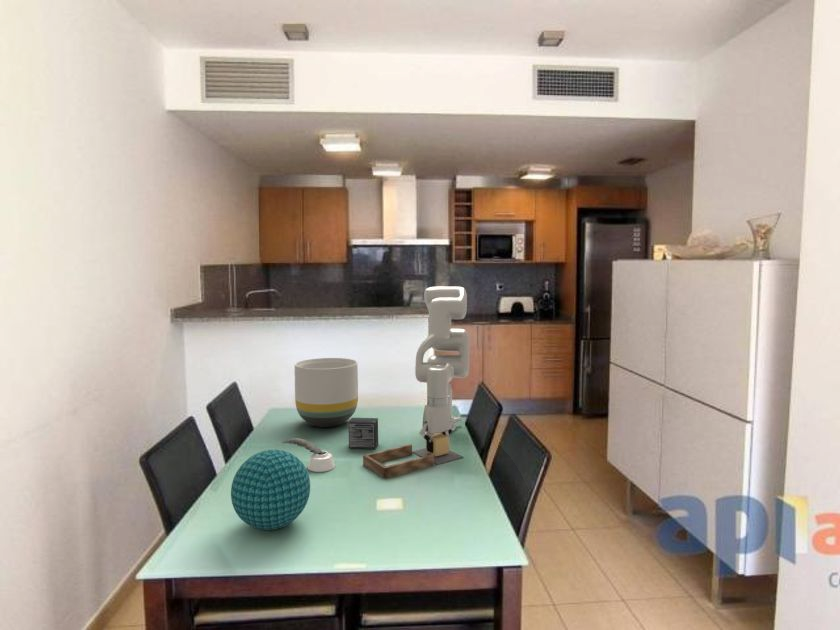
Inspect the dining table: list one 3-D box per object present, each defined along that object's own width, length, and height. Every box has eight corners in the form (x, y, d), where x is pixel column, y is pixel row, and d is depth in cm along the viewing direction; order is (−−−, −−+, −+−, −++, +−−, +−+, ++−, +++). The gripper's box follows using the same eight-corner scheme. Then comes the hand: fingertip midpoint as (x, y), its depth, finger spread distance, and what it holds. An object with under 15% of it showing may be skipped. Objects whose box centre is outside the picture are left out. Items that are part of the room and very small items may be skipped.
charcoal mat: (437, 446, 200) (437, 445, 199) (463, 457, 187) (463, 456, 187) (412, 452, 193) (412, 451, 193) (436, 464, 180) (436, 463, 180)
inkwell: (333, 472, 174) (332, 443, 173) (278, 472, 174) (278, 443, 173) (337, 462, 183) (336, 434, 183) (285, 462, 183) (284, 434, 182)
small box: (379, 443, 202) (378, 417, 201) (375, 449, 196) (375, 422, 195) (352, 443, 203) (351, 416, 202) (348, 448, 197) (347, 421, 196)
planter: (308, 414, 243) (307, 357, 240) (364, 416, 239) (364, 358, 237) (285, 432, 216) (284, 368, 214) (348, 435, 213) (348, 369, 210)
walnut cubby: (410, 453, 192) (410, 444, 191) (433, 465, 180) (433, 455, 180) (363, 465, 180) (363, 455, 180) (385, 478, 169) (384, 468, 168)
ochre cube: (438, 448, 194) (438, 432, 194) (449, 452, 189) (449, 436, 189) (425, 451, 191) (425, 435, 190) (435, 456, 186) (435, 440, 185)
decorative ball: (293, 548, 127) (291, 468, 125) (216, 541, 130) (213, 463, 128) (321, 510, 147) (320, 441, 145) (254, 505, 150) (252, 437, 148)
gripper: (449, 395, 196) (449, 442, 198) (411, 402, 186) (411, 451, 188) (462, 399, 190) (462, 447, 192) (424, 407, 180) (424, 457, 182)
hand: (437, 449), depth 190 cm, fingers closed on ochre cube, 5 cm apart
